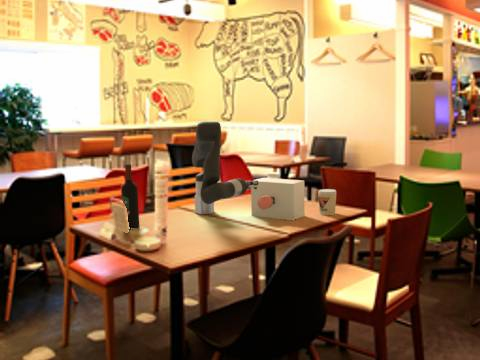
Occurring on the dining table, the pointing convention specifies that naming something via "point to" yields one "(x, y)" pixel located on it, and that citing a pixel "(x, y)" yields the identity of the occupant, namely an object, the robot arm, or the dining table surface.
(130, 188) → the wine bottle
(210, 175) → the robot arm
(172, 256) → the dining table surface
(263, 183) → the console
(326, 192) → the coffee cup
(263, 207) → the knob
